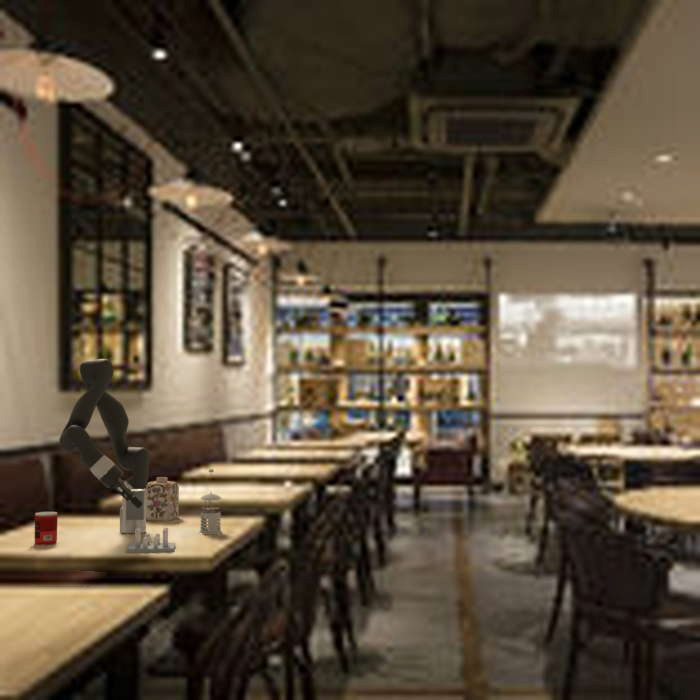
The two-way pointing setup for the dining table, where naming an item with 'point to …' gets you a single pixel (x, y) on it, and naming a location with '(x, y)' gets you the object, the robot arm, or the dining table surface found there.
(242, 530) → the dining table surface
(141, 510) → the block
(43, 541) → the canned food
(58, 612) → the dining table surface
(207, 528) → the french press
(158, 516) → the decorative jar
